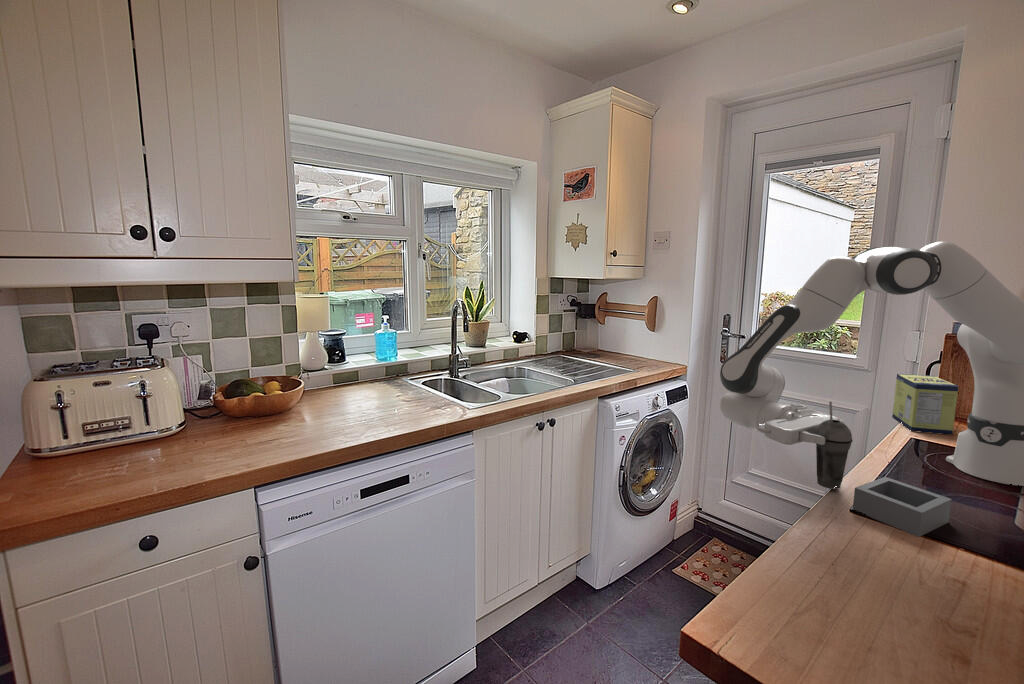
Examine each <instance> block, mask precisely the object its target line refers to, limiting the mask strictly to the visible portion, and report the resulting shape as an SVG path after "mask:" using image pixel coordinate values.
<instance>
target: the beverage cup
mask: <svg viewBox="0 0 1024 684" xmlns="http://www.w3.org/2000/svg"><path fill="white" fill-rule="evenodd" d="M832 402H833V401H829V402H828V404H829V405H828V406H829V415H830V420H827V421H824V422H822V423H821V424H820V425H819V426H818V427H817V429H816V432H815V435H823V436H826V437H827V438H828V440H827V441H828V442H827V444H824V445H820V444H817V443H815V447H816V449H815V450H816V455H815V457H816V478H817V482H816V483H817V485H818V486H819V487H822V488H825V489H830V490H840V489H841V488H842V487H841V486H842V483H843V479H844V473H845V468H846V466H847V465H846V464H847V459H848V454H849V450H850V449H851V445H852V443H853V442H854V441H853V435H852V432H851V429H850V427H848V425H846V424H845V423H844V422H842V421H841V420H840V421H837V420H833V417H832V416H833V403H832ZM835 486H837V487H835ZM834 487H835V489H833V488H834Z"/></svg>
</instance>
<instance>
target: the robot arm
mask: <svg viewBox="0 0 1024 684" xmlns="http://www.w3.org/2000/svg"><path fill="white" fill-rule="evenodd" d="M866 290H870V291H873V292H877V293H883V294H891V295H896V296H899V295H900V296H902V295H903V296H905V295H909V294H910V295H911V294H913V293H917V292H919V291H921V290H925V292H926V293H928V295H929V296H930V297H931V298H932V299H933V300H934V301H936V303H937V304H938V305H939V306H940V307H941V308H942V309H943V310H944V311H945V312H946V313H947V314H948V315H949V316H950V317H951V318H952V319H953V320H954V321H956V322H958V323H960V324H961V325H960V326H959V328H958V330H957V333H956V339H957V343H958V344H959V346H961V348H962V349H963V350H964V351H965V353H966V355H967V357H968V360H969V364H970V366H971V370H972V374H973V382H974V383H973V384H974V387H973V399H972V407H971V412H970V413H969V414H968V417H967V423H966V427H967V428H966V430H965V429H964V430H963V431H960V432H958V435H957V439H956V445H955V449H954V453H953V454H952V455H948V456H946V458H945V461H946V462H948V463H950V464H953V465H954V466H955V467H956V468H957V469H958V470H960V471H962V472H963V473H965V474H968V475H970V476H973V477H976V478H978V479H979V478H980V479H983V480H987V481H991V482H996V483H999V484H1004V485H1010V484H1012V485H1011V486H1018V485H1019V486H1020V487H1021V486H1022V487H1024V299H1023V298H1021V297H1019V296H1018V295H1016V294H1015V293H1014V292H1012V291H1011V290H1009V289H1008V288H1007V287H1006V285H1004V284H1003V283H1002V282H1001V281H1000V280H999V279H997V277H996V276H995V275H994V274H993V273H992V272H991V271H990V270H988V269H987V267H985V265H983V263H981V262H980V261H979V260H978V259H977V258H976V257H975V256H973V254H971V253H970V252H968V251H966V250H965V249H963V248H961V246H959V245H957V244H955V243H954V242H951V241H946V240H945V241H944V240H943V241H941V240H940V241H936V242H932V243H929V244H927V245H925V246H923V247H922V248H920V249H916V248H908V247H906V248H905V247H898V246H887V247H886V246H885V247H872V248H868V249H866V250H863V251H860V252H859V253H857V254H855V255H854V256H852V257H848V256H844V255H840V256H839V255H837V256H832V257H829V258H828V259H826V261H824V262H823V263H822V264H821V265H820V266H819V267H818V268H817V269H816V270H815V271H814V272H813V274H812V275H811V276H810V277H809V278H808V279H807V281H806V282H805V283H804V285H802V287H801V288H800V290H799V291H798V292H797V293H796V294H795V296H794V297H792V299H790V300H789V301H788V302H787V303H786V304H784V305H782V306H781V307H779V308H778V309H776V310H775V311H773V313H772V314H771V315H769V316H768V317H767V319H766V320H765V321H764V322H763V323H762V324H761V325H760V326H759V327H758V328H757V329H756V331H755V332H754V333H753V334H752V335H751V336H750V338H749V339H748V340H747V341H746V342H745V343H744V344H743V345H742V346H741V347H740V348H739V349H738V350H736V351H735V352H734V353H733V354H731V355H730V356H729V357H728V358H726V359H725V360H724V361H723V363H722V365H721V366H720V370H719V371H720V372H719V377H720V382H721V384H722V386H723V388H725V389H726V390H727V391H728V392H725V394H723V395H722V396H721V399H720V403H719V405H720V407H719V408H720V411H721V414H722V416H723V417H724V418H725V419H726V420H728V421H729V422H731V423H733V424H735V425H737V426H740V427H743V428H746V429H749V430H756V431H757V432H759V433H761V434H763V435H764V437H766V438H768V439H770V440H771V441H775V442H777V443H780V444H782V445H789V446H791V445H795V444H799V443H803V442H804V443H812V444H816V443H817V444H820V445H824V444H827V442H828V441H827V440H828V438H827V437H826V436H823V435H815V432H816V429H817V427H818V426H819V425H820V424H821V423H822V422H824V421H827V420H830V413H825V412H824V411H819V410H815V409H809V408H808V407H807V405H803V404H786V403H783V402H779V400H780V398H781V397H782V393H783V392H784V389H785V385H786V381H785V376H784V375H783V373H782V371H780V370H778V368H776V367H773V366H771V365H768V364H766V363H764V361H765V360H766V359H767V358H768V357H769V356H770V355H771V354H772V352H773V351H774V350H775V349H776V348H777V347H778V346H779V345H780V344H781V343H782V341H784V340H785V339H786V338H788V337H789V336H792V335H795V334H800V333H817V332H821V331H824V330H827V329H829V328H830V327H831V326H833V325H834V324H835V323H836V322H837V321H838V320H839V319H840V318H841V317H842V315H843V314H844V312H845V311H846V310H847V309H848V307H849V306H850V304H852V302H853V300H854V299H855V298H856V297H857V296H858V295H859V294H861V293H862V292H864V291H866ZM832 417H833V420H837V421H840V422H841V420H840V419H839V417H837V416H835V415H832Z"/></svg>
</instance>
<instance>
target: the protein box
mask: <svg viewBox="0 0 1024 684" xmlns="http://www.w3.org/2000/svg"><path fill="white" fill-rule="evenodd" d="M958 392H959V385H956V384H954V383H952V382H950V381H947V380H945V379H942V378H940V377H938V376H936V375H923V374H907V373H906V374H905V373H896V382H895V391H894V398H893V399H894V400H893V406H892V415H891V418H892V419H894V420H895V421H897V422H898V423H899V424H900V423H901V422H902V424H903V425H902V424H901V425H902V426H905V427H904V428H906V427H907V428H908V429H909V430H908V429H907V428H906V429H907V430H908V431H910V430H911V431H910V432H913V431H921V432H920V433H924V432H932V433H931V434H936V433H942V434H941V435H947V434H952V435H953V432H954V424H955V417H956V410H957V402H958Z"/></svg>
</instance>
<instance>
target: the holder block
mask: <svg viewBox="0 0 1024 684" xmlns="http://www.w3.org/2000/svg"><path fill="white" fill-rule="evenodd" d="M952 501H953V499H952V498H949V497H946V496H944V495H940V494H938V493H934V492H931V491H928V490H926V489H923V488H919V487H917V486H914V485H911V484H908V483H905V482H903V481H899V480H896V479H893V478H890V477H888V476H887V477H886V476H883V477H880V478H878V479H874V480H872V481H869V482H867V483H864V484H861V485H858V486H856V487H854V493H853V502H852V503H853V505H852V511H854V510H857V511H859V512H862V513H863V514H862V513H861V514H862V515H864V514H866V515H865V516H867V517H869V518H872V519H874V520H876V521H879V522H881V523H883V524H886V525H889V526H891V527H893V528H896V529H898V530H901V531H903V532H905V533H908V534H910V535H913V536H915V537H918V538H920V537H922V536H924V535H926V534H928V533H930V532H932V531H934V530H936V529H939V528H940V527H943V526H945V525H946V524H949V522H950V514H951V509H952V508H951V507H952ZM857 511H856V512H857ZM859 512H858V513H859Z"/></svg>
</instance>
